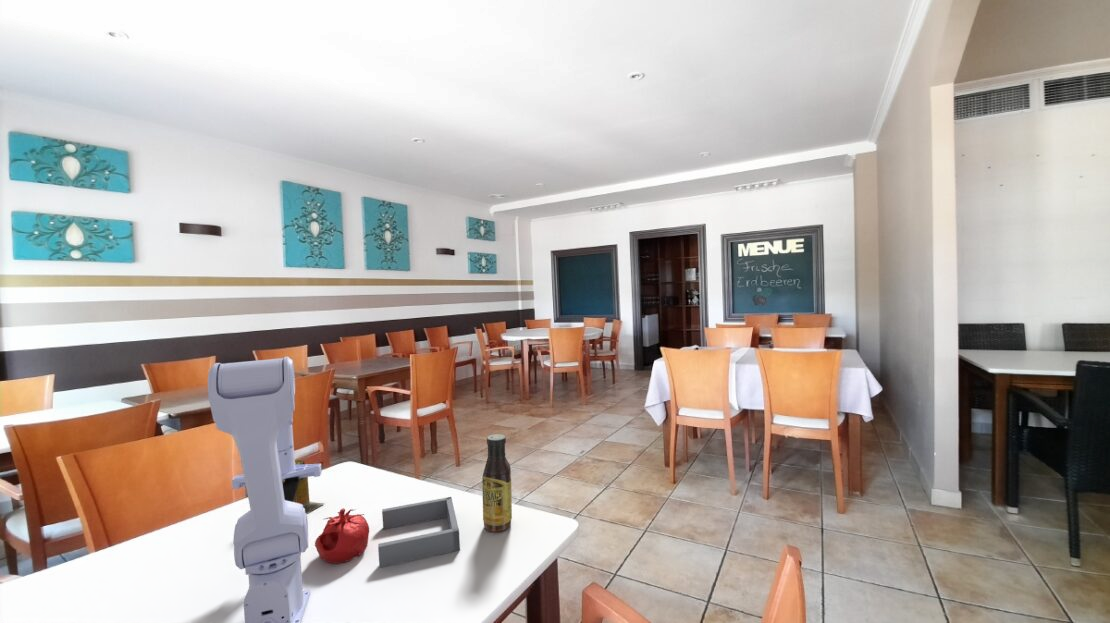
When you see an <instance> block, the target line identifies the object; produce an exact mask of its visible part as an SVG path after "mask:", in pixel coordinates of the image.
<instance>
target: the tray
mask: <svg viewBox="0 0 1110 623" xmlns="http://www.w3.org/2000/svg"><path fill="white" fill-rule="evenodd" d="M381 514H382V515H381V516H382V530H387V529H392V528H398V527H405V526H407V525H408V526H409V525H413V524H417V523H423V522H429V521H434V520H439V519H443V518H444V519H445V518H447V522H448V528H449V529H444V530H441V531H440V530H439V531H435V532H429V533H425V534H424V533H423V534H420V535H416V536H415V535H414V536H410V537H406V538H400V539H396V540H391V541H385V542H382V543H381V542H380V543H378V544H377V548H378V549H377V550H378V551H377V552H378V564H379V565H378V567H379V569H380V568H384V567H389V566H394V565H398V564H403V563H407V562H413V561H417V560H421V559H425V558H430V557H435V556H438V555H444V554H449V553H452V552H457V551H460V550H461V543H460V542H461V541H460V530H459V524H458V520H457V515H456V510H455V508H454V503H453V499H452V496H448V497H442V498H436V499H432V500H431V499H430V500H427V501H426V500H425V501H420V502H415V503H409V504H405V505H404V504H403V505H398V506H393V507H388V508H382V510H381Z"/></svg>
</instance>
